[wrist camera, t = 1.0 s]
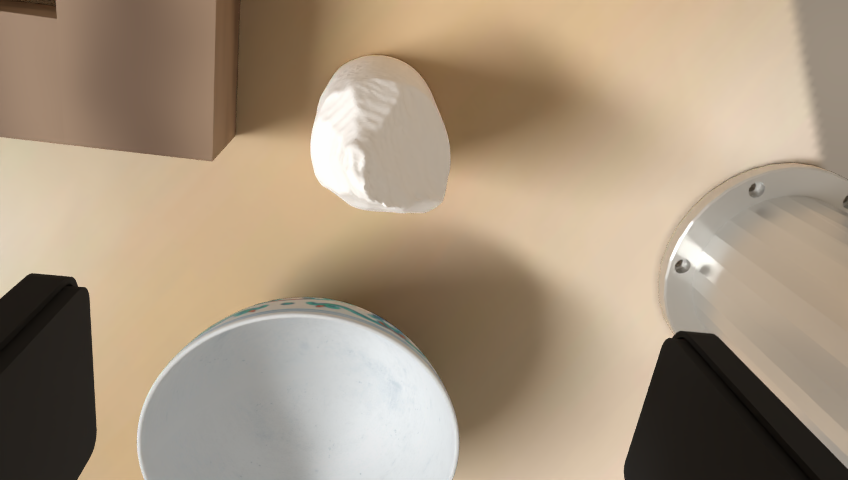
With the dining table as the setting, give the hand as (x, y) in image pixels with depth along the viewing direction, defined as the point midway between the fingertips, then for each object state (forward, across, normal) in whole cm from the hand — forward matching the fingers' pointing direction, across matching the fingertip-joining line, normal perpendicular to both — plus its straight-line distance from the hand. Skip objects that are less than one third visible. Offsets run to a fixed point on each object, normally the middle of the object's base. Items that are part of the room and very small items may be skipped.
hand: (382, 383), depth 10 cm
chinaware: (+24, +2, +15) cm, 28 cm away
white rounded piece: (+24, 0, 0) cm, 24 cm away
